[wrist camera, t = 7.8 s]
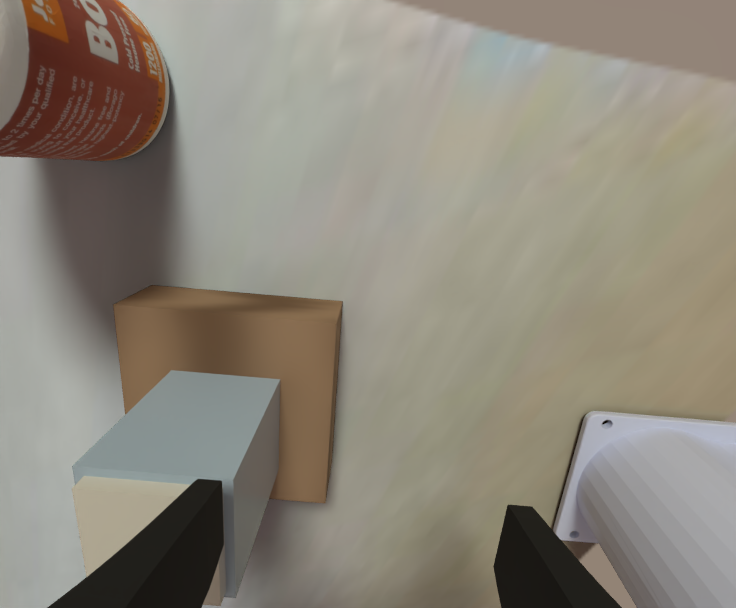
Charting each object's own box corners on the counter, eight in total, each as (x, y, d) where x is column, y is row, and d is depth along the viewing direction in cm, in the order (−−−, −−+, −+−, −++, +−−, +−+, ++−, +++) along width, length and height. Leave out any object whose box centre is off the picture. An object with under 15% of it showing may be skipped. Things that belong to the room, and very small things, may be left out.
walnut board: (342, 301, 20) (336, 323, 17) (332, 460, 22) (325, 503, 20) (151, 285, 20) (113, 304, 17) (164, 446, 22) (133, 487, 20)
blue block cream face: (280, 379, 18) (227, 492, 11) (278, 469, 19) (230, 613, 13) (171, 370, 18) (59, 478, 11) (177, 461, 19) (81, 601, 13)
